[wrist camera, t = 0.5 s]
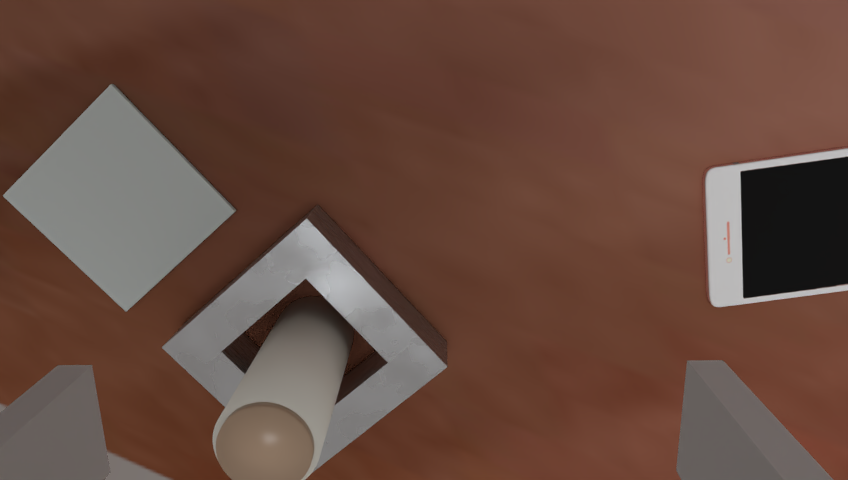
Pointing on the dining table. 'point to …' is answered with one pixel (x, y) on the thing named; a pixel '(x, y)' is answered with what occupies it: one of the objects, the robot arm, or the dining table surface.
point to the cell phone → (776, 227)
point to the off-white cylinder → (286, 396)
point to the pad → (119, 199)
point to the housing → (349, 294)
